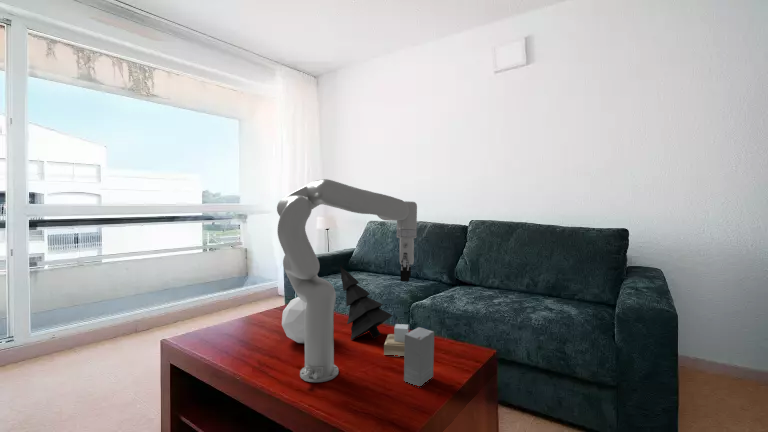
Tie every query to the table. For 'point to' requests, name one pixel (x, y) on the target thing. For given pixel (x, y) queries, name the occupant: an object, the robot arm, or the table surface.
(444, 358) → the table surface
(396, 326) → the block
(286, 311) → the geometric sculpture
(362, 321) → the decorative tree
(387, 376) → the table surface
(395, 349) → the plinth
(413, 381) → the skincare box
